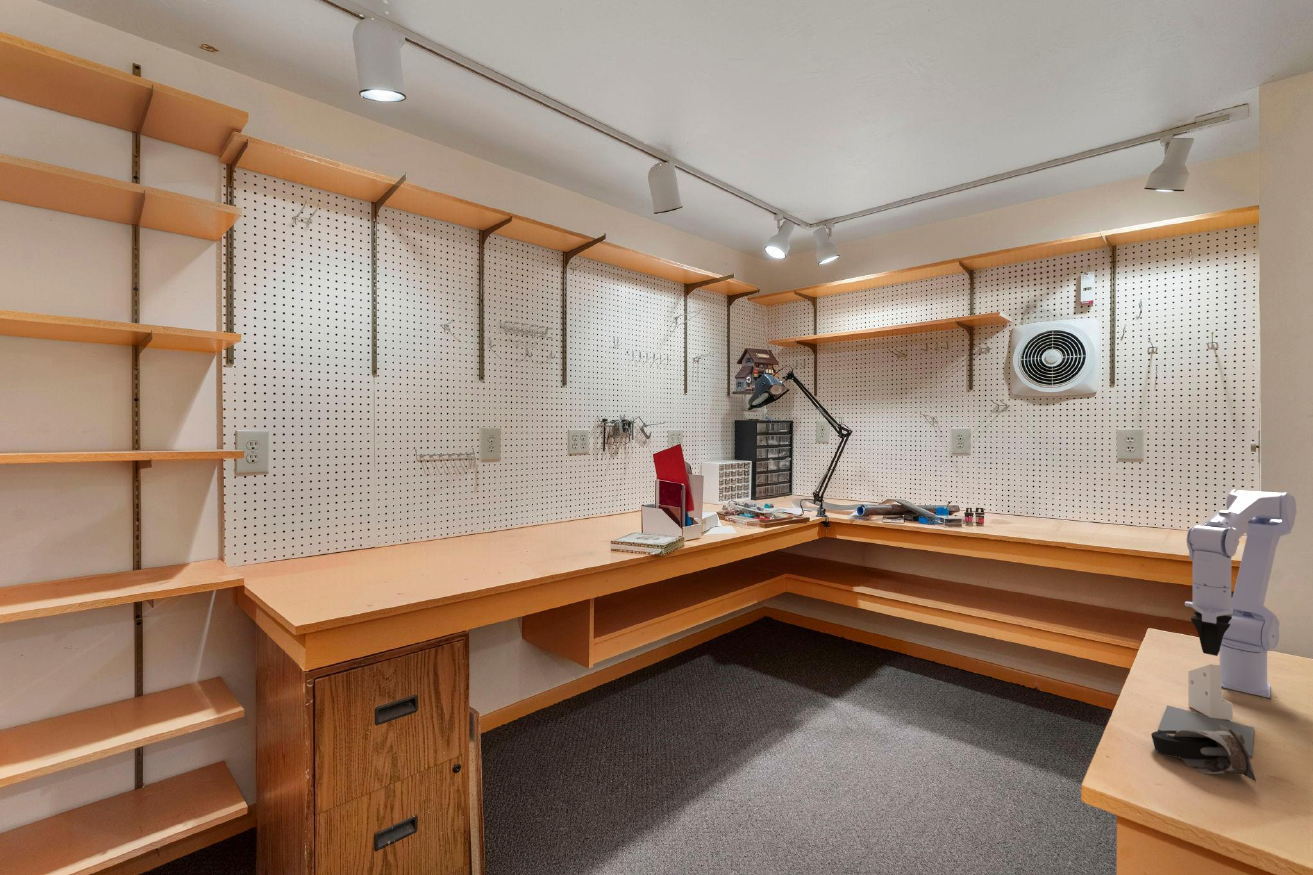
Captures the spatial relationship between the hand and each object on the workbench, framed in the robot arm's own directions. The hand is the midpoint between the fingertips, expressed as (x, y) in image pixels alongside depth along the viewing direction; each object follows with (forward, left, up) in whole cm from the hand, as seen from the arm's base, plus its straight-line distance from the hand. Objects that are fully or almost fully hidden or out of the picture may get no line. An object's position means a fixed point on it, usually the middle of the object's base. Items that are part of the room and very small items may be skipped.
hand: (1211, 650), depth 116 cm
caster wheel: (+33, 0, -11) cm, 35 cm away
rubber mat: (+17, 0, -10) cm, 20 cm away
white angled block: (+8, 0, -10) cm, 13 cm away
